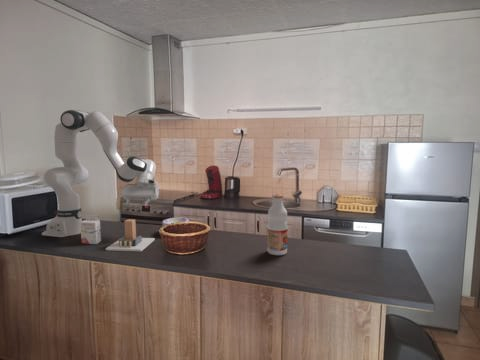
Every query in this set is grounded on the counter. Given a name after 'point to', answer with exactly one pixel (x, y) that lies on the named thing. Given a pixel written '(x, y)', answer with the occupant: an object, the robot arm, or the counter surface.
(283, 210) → the fruit juice
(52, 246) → the counter surface
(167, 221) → the paper bowls
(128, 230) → the tall tan rectangular block
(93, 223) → the ink cartridge box
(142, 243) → the cartridge dock
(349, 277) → the counter surface
